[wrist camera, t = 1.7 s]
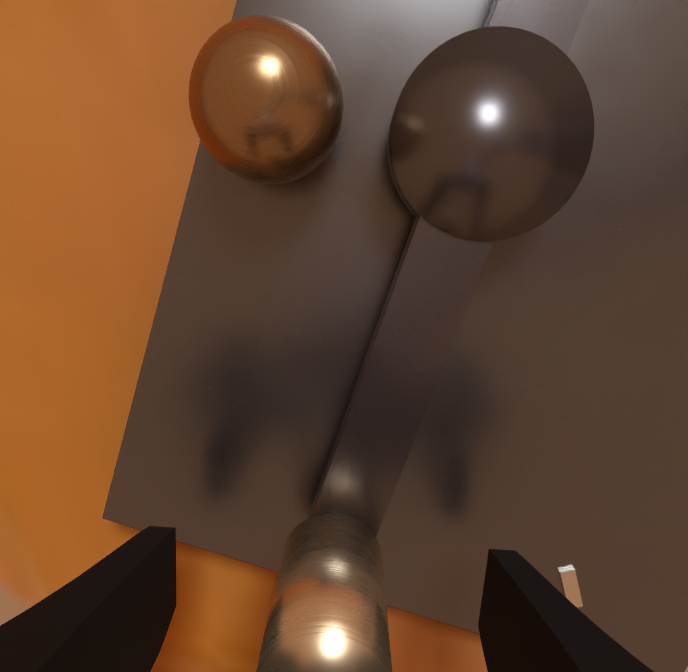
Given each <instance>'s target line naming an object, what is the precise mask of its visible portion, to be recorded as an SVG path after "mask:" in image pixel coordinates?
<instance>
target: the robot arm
mask: <svg viewBox="0 0 688 672" xmlns="http://www.w3.org/2000/svg"><path fill="white" fill-rule="evenodd" d="M175 607H176V528H174V527H159V526H148V527H147V528H145V529H144V530H142V531H141V532H140V533H138V534H137V535H135V536H134V537H133V538H131V539H130V540H128V541H127V542H126V543H124V544H123V545H122V546H120V547H119V548H117V549H116V550H115V551H113V552H112V553H111V554H109V555H108V556H106V557H105V558H104V559H102V560H101V561H99V562H98V563H97V564H95V565H94V566H92V567H91V568H90V569H88V570H87V571H85V572H84V573H83V574H81V575H80V576H78V577H77V578H75V579H74V580H72V581H71V582H69V583H68V584H66V585H65V586H63V587H62V588H60V589H59V590H57V591H55V592H54V593H52V594H51V595H49V596H48V597H46V598H45V599H43V600H42V601H40V602H39V603H37V604H36V605H34V606H32V607H31V608H29V609H28V610H26V611H25V612H23V613H21V614H19V615H18V616H16V617H14V618H13V619H11V620H9V621H8V622H6V623H4V624H2V625H1V626H0V672H150V671H151V669H152V666H153V664H154V662H155V660H156V658H157V656H158V654H159V652H160V649H161V647H162V644H163V641H164V638H165V636H166V633H167V630H168V627H169V625H170V622H171V619H172V616H173V613H174V610H175ZM478 628H479V633H480V638H481V643H482V648H483V652H484V657H485V661H486V666H487V670H488V672H654V671H652V670H651V669H650V668H648V667H647V666H646V665H645V664H643V663H642V662H641V661H639V660H638V659H637V658H636V657H634V656H633V655H632V654H631V653H629V652H628V651H627V650H626V649H624V648H623V647H622V646H621V645H620V644H618V643H617V642H616V641H615V640H614V639H612V638H611V637H610V636H609V635H608V634H606V633H605V632H604V631H603V630H602V629H600V628H599V627H598V626H597V625H596V624H595V623H594V622H592V621H591V620H590V619H589V618H588V617H587V616H586V615H585V614H583V613H582V612H581V611H580V610H579V609H578V608H577V607H576V606H575V605H574V604H572V603H571V602H570V601H569V600H568V599H567V598H566V597H565V596H564V595H563V594H562V593H561V592H559V591H558V590H557V589H556V588H555V587H554V586H553V585H552V584H551V583H550V582H549V581H548V580H547V579H546V578H545V577H544V576H543V575H542V574H540V573H539V572H538V571H537V570H536V569H535V568H534V567H533V566H532V565H531V564H530V563H529V562H528V561H527V560H526V559H525V558H523V557H522V556H521V555H520V554H519V553H518V552H517V551H515V550H500V549H489V551H488V558H487V565H486V572H485V579H484V586H483V593H482V600H481V607H480V614H479V621H478Z"/></svg>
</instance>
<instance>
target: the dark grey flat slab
mask: <svg viewBox="0 0 688 672" xmlns="http://www.w3.org/2000/svg"><path fill="white" fill-rule="evenodd" d="M493 1H494V0H237V2H236V6H235V10H234V13H233V17H232V21H231V22H229V23H227V24H226V25H224V26H223V27H221V28H220V29H218V30H217V31H216V32H215V33H214V34H213V35H212V36H211V37H210V38H209V39H208V40H207V41H206V43H205V44H204V45H203V47H202V48H201V50H200V52H199V53H198V56H197V58H196V60H195V62H194V65H193V68H192V72H191V77H190V82H189V106H190V112H191V117H192V120H193V123H194V126H195V129H196V131H197V133H198V135H199V138H200V139H201V140H200V144H199V148H198V152H197V156H196V160H195V163H194V167H193V171H192V175H191V179H190V183H189V187H188V190H187V194H186V198H185V202H184V206H183V210H182V213H181V217H180V221H179V225H178V229H177V233H176V236H175V240H174V244H173V248H172V252H171V256H170V260H169V263H168V267H167V271H166V275H165V279H164V283H163V286H162V290H161V294H160V298H159V302H158V306H157V310H156V313H155V317H154V321H153V325H152V329H151V333H150V336H149V340H148V344H147V348H146V352H145V356H144V360H143V363H142V367H141V371H140V375H139V379H138V383H137V386H136V390H135V394H134V398H133V402H132V406H131V410H130V413H129V417H128V421H127V425H126V429H125V433H124V436H123V440H122V444H121V448H120V452H119V456H118V460H117V463H116V467H115V471H114V475H113V479H112V483H111V486H110V490H109V494H108V498H107V502H106V506H105V510H104V513H103V517H102V518H103V519H107V520H110V521H113V522H116V523H120V524H123V525H126V526H129V527H133V528H136V529H139V530H144V529H145V528H147V527H148V526H159V527H174V528H176V541H178V542H182V543H185V544H188V545H191V546H195V547H198V548H201V549H204V550H208V551H211V552H214V553H217V554H221V555H224V556H227V557H230V558H234V559H237V560H240V561H243V562H247V563H250V564H253V565H256V566H260V567H263V568H266V569H270V570H273V571H276V572H278V568H279V564H280V559H281V555H282V550H283V546H284V543H285V541H286V539H287V537H288V535H289V534H290V533H291V531H292V530H293V529H294V528H295V527H296V526H297V525H298V524H300V523H301V522H303V521H305V520H307V518H308V515H309V512H310V509H311V507H312V504H313V501H314V498H315V495H316V493H317V490H318V487H319V484H320V482H321V479H322V476H323V473H324V470H325V468H326V465H327V462H328V459H329V457H330V454H331V451H332V448H333V445H334V443H335V440H336V437H337V434H338V432H339V429H340V426H341V423H342V420H343V418H344V415H345V412H346V409H347V407H348V404H349V401H350V398H351V395H352V393H353V390H354V387H355V384H356V381H357V379H358V376H359V373H360V370H361V368H362V365H363V362H364V359H365V356H366V354H367V351H368V348H369V345H370V343H371V340H372V337H373V334H374V331H375V329H376V326H377V323H378V320H379V318H380V315H381V312H382V309H383V306H384V304H385V301H386V298H387V295H388V293H389V290H390V287H391V284H392V281H393V279H394V276H395V273H396V270H397V267H398V265H399V262H400V259H401V256H402V254H403V251H404V248H405V245H406V242H407V240H408V237H409V234H410V231H411V229H412V226H413V223H414V220H415V216H414V215H413V214H412V213H411V212H410V210H409V209H408V208H407V207H406V205H405V204H404V202H403V201H402V200H401V198H400V196H399V194H398V192H397V190H396V188H395V186H394V183H393V180H392V178H391V173H390V169H389V164H388V155H387V140H388V133H389V126H390V123H391V119H392V115H393V112H394V109H395V106H396V104H397V101H398V99H399V96H400V94H401V91H402V89H403V87H404V86H405V84H406V82H407V80H408V78H409V77H410V75H411V74H412V73H413V71H414V70H415V69H416V67H417V66H418V65H419V64H420V63H421V62H422V61H423V60H424V58H425V57H426V56H427V55H428V54H430V53H431V52H432V51H433V50H435V49H436V48H437V47H438V46H440V45H441V44H443V43H444V42H446V41H448V40H449V39H451V38H453V37H455V36H457V35H460V34H462V33H464V32H467V31H471V30H474V29H478V28H484V26H485V23H486V20H487V17H488V14H489V12H490V9H491V6H492V3H493ZM567 56H568V57H569V58H570V60H571V61H572V62H573V63H574V64H575V66H576V67H577V69H578V71H579V72H580V74H581V75H582V77H583V79H584V82H585V84H586V86H587V88H588V91H589V95H590V98H591V102H592V107H593V114H594V140H593V147H592V152H591V156H590V160H589V163H588V166H587V169H586V171H585V174H584V176H583V178H582V180H581V182H580V184H579V186H578V187H577V189H576V190H575V192H574V193H573V195H572V196H571V198H570V199H569V200H568V201H567V202H566V204H565V205H564V206H563V207H562V208H561V209H560V210H559V211H558V212H557V213H556V214H555V215H554V216H553V217H551V218H550V219H549V220H547V221H546V222H545V223H543V224H542V225H540V226H538V227H537V228H535V229H533V230H531V231H529V232H527V233H524V234H522V235H520V236H517V237H513V238H509V239H506V240H499V241H493V243H492V246H491V248H490V251H489V253H488V256H487V258H486V261H485V263H484V266H483V268H482V271H481V273H480V276H479V278H478V281H477V283H476V286H475V289H474V291H473V294H472V296H471V299H470V301H469V304H468V306H467V309H466V311H465V314H464V316H463V319H462V321H461V324H460V326H459V329H458V331H457V334H456V336H455V339H454V341H453V344H452V347H451V349H450V352H449V354H448V357H447V359H446V362H445V364H444V367H443V369H442V372H441V374H440V377H439V379H438V382H437V384H436V387H435V389H434V392H433V394H432V397H431V399H430V402H429V405H428V407H427V410H426V412H425V415H424V417H423V420H422V422H421V425H420V427H419V430H418V432H417V435H416V437H415V440H414V442H413V445H412V447H411V450H410V452H409V455H408V457H407V460H406V462H405V465H404V468H403V470H402V473H401V475H400V478H399V480H398V483H397V485H396V488H395V490H394V493H393V495H392V498H391V500H390V503H389V505H388V508H387V510H386V513H385V515H384V518H383V520H382V523H381V526H380V528H379V531H378V533H377V536H376V539H377V540H378V543H379V545H380V548H381V553H382V563H383V574H384V585H385V596H386V605H387V606H390V607H393V608H397V609H400V610H403V611H406V612H410V613H413V614H416V615H419V616H423V617H426V618H429V619H432V620H436V621H439V622H442V623H446V624H449V625H452V626H455V627H459V628H462V629H465V630H468V631H472V632H475V633H478V634H480V633H479V628H478V621H479V614H480V607H481V600H482V593H483V586H484V579H485V572H486V565H487V558H488V551H489V549H500V550H515V551H517V552H518V553H519V554H520V555H521V556H522V557H523V558H525V559H526V560H527V561H528V562H529V563H530V564H531V565H532V566H533V567H534V568H535V569H536V570H537V571H538V572H539V573H540V574H542V575H543V576H544V577H545V578H546V579H547V580H548V581H549V582H550V583H551V584H552V585H553V586H554V587H555V588H556V589H557V590H558V591H559V592H561V593H562V594H563V595H564V596H565V597H566V598H567V599H568V600H569V601H570V602H571V603H572V604H574V605H575V606H576V607H577V608H578V609H579V610H580V611H581V612H582V613H583V614H585V615H586V616H587V617H588V618H589V619H590V620H591V621H592V622H594V623H595V624H596V625H597V626H598V627H599V628H600V629H602V630H603V631H604V632H605V633H606V634H608V635H609V636H610V637H611V638H612V639H614V640H615V641H616V642H617V643H618V644H620V645H621V646H622V647H623V648H624V649H626V650H627V651H628V652H629V653H631V654H632V655H633V656H634V657H636V658H637V659H638V660H639V661H641V662H642V663H643V664H645V665H646V666H647V667H648V668H650V669H651V670H652V671H654V672H684V671H685V670H686V668H687V666H688V0H589V1H588V4H587V6H586V9H585V11H584V14H583V16H582V19H581V21H580V24H579V26H578V29H577V31H576V34H575V36H574V39H573V41H572V44H571V46H570V49H569V52H568V54H567Z"/></svg>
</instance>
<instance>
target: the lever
mask: <svg viewBox="0 0 688 672" xmlns="http://www.w3.org/2000/svg"><path fill="white" fill-rule="evenodd" d="M588 1H589V0H494V1H493V3H492V6H491V9H490V12H489V14H488V17H487V20H486V23H485V26H484V28H478V29H474V30H471V31H467V32H464V33H462V34H460V35H457V36H455V37H453V38H451V39H449V40H448V41H446V42H444V43H443V44H441V45H440V46H438V47H437V48H436V49H435V50H433V51H432V52H431V53H430V54H428V55H427V56H426V57H425V58H424V60H423V61H422V62H421V63H420V64H419V65H418V66H417V67H416V69H415V70H414V71H413V73H412V74H411V75H410V77H409V78H408V80H407V82H406V84H405V86H404V87H403V89H402V91H401V94H400V96H399V99H398V101H397V104H396V106H395V109H394V112H393V115H392V119H391V123H390V126H389V133H388V140H387V155H388V164H389V169H390V173H391V178H392V180H393V183H394V186H395V188H396V190H397V192H398V194H399V196H400V198H401V200H402V201H403V202H404V204H405V205H406V207H407V208H408V209H409V210H410V212H411V213H412V214H413V215H414V216H415V220H414V223H413V226H412V229H411V231H410V234H409V237H408V240H407V242H406V245H405V248H404V251H403V254H402V256H401V259H400V262H399V265H398V267H397V270H396V273H395V276H394V279H393V281H392V284H391V287H390V290H389V293H388V295H387V298H386V301H385V304H384V306H383V309H382V312H381V315H380V318H379V320H378V323H377V326H376V329H375V331H374V334H373V337H372V340H371V343H370V345H369V348H368V351H367V354H366V356H365V359H364V362H363V365H362V368H361V370H360V373H359V376H358V379H357V381H356V384H355V387H354V390H353V393H352V395H351V398H350V401H349V404H348V407H347V409H346V412H345V415H344V418H343V420H342V423H341V426H340V429H339V432H338V434H337V437H336V440H335V443H334V445H333V448H332V451H331V454H330V457H329V459H328V462H327V465H326V468H325V470H324V473H323V476H322V479H321V482H320V484H319V487H318V490H317V493H316V495H315V498H314V501H313V504H312V507H311V509H310V512H309V515H308V518H307V520H305V521H303V522H301V523H300V524H298V525H297V526H296V527H295V528H294V529H293V530H292V531H291V533H290V534H289V535H288V537H287V539H286V541H285V543H284V546H283V550H282V555H281V559H280V564H279V568H278V573H277V578H276V582H275V587H274V591H273V596H272V600H271V605H270V609H269V614H268V618H267V623H266V628H265V632H264V637H263V641H262V646H261V650H260V655H259V659H258V664H257V669H256V672H392V663H391V652H390V641H389V630H388V618H387V607H386V596H385V585H384V574H383V563H382V553H381V548H380V545H379V543H378V540H377V539H376V536H377V533H378V531H379V528H380V526H381V523H382V520H383V518H384V515H385V513H386V510H387V508H388V505H389V503H390V500H391V498H392V495H393V493H394V490H395V488H396V485H397V483H398V480H399V478H400V475H401V473H402V470H403V468H404V465H405V462H406V460H407V457H408V455H409V452H410V450H411V447H412V445H413V442H414V440H415V437H416V435H417V432H418V430H419V427H420V425H421V422H422V420H423V417H424V415H425V412H426V410H427V407H428V405H429V402H430V399H431V397H432V394H433V392H434V389H435V387H436V384H437V382H438V379H439V377H440V374H441V372H442V369H443V367H444V364H445V362H446V359H447V357H448V354H449V352H450V349H451V347H452V344H453V341H454V339H455V336H456V334H457V331H458V329H459V326H460V324H461V321H462V319H463V316H464V314H465V311H466V309H467V306H468V304H469V301H470V299H471V296H472V294H473V291H474V289H475V286H476V283H477V281H478V278H479V276H480V273H481V271H482V268H483V266H484V263H485V261H486V258H487V256H488V253H489V251H490V248H491V246H492V243H493V241H499V240H506V239H509V238H513V237H517V236H520V235H522V234H524V233H527V232H529V231H531V230H533V229H535V228H537V227H538V226H540V225H542V224H543V223H545V222H546V221H547V220H549V219H550V218H551V217H553V216H554V215H555V214H556V213H557V212H558V211H559V210H560V209H561V208H562V207H563V206H564V205H565V204H566V202H567V201H568V200H569V199H570V198H571V196H572V195H573V193H574V192H575V190H576V189H577V187H578V186H579V184H580V182H581V180H582V178H583V176H584V174H585V171H586V169H587V166H588V163H589V160H590V156H591V152H592V147H593V140H594V114H593V107H592V102H591V98H590V95H589V91H588V88H587V86H586V84H585V82H584V79H583V77H582V75H581V74H580V72H579V71H578V69H577V67H576V66H575V64H574V63H573V62H572V61H571V60H570V58H569V57H568V56H567V54H568V52H569V49H570V46H571V44H572V41H573V39H574V36H575V34H576V31H577V29H578V26H579V24H580V21H581V19H582V16H583V14H584V11H585V9H586V6H587V4H588Z"/></svg>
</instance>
